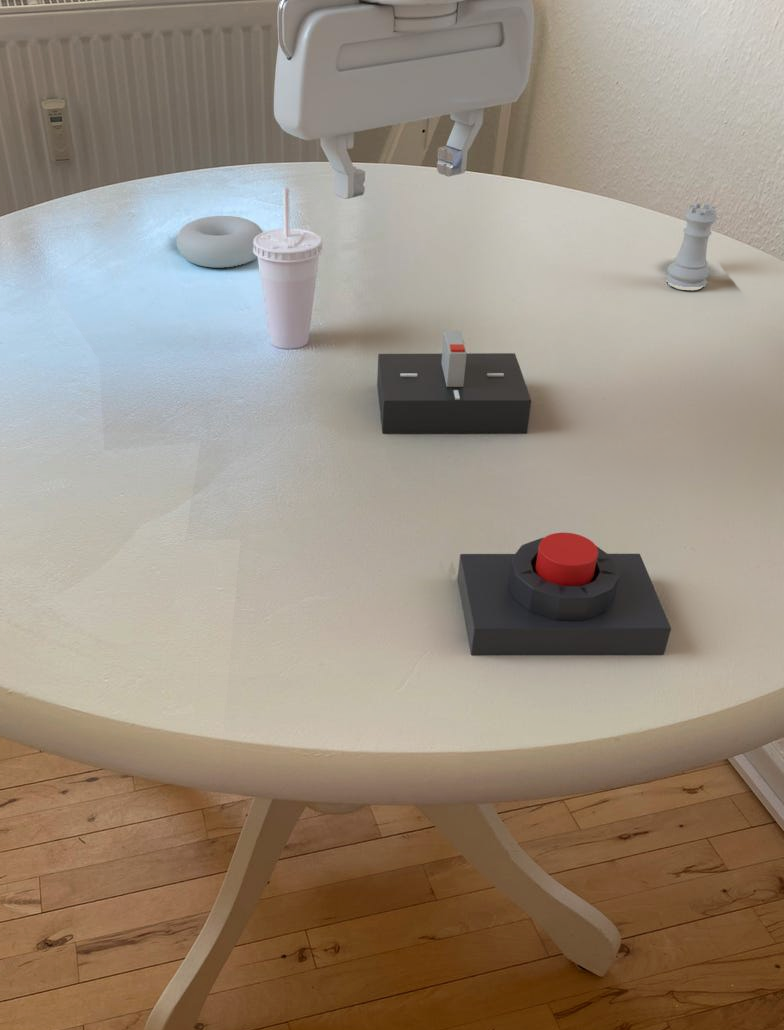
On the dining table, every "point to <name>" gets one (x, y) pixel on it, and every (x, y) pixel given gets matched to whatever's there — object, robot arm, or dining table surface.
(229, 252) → the donut
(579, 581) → the power button
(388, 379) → the panel
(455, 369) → the grey block
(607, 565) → the power switch
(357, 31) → the robot arm
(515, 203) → the dining table surface
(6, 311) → the dining table surface
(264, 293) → the smoothie
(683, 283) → the rook chess piece
